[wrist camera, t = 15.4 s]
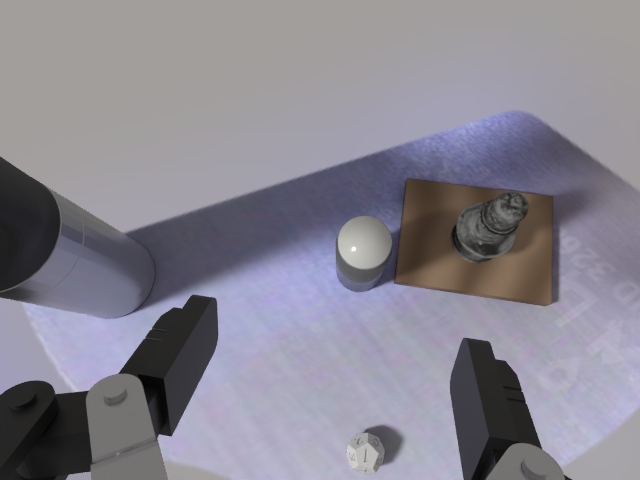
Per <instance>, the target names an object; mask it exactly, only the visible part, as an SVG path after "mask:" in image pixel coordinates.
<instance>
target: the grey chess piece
mask: <svg viewBox="0 0 640 480" xmlns="http://www.w3.org/2000/svg"><path fill="white" fill-rule="evenodd" d="M528 210H529V204H528V201H527V199H526V198H525V197H524V196H523V195H522V194H521V193H519V192H517V191H512V190H509V191H505V192H502V193H500V194H499V195H498V196H497V197H496V198H495V199H492V200H489V201H487V202H481V203H475V204H473V205H470V206H468V207H467V208H466V209H465V210H463V211H462V213H461V214H460V216H459V217H458V221H457V223H456V225H455V226H454V228H453V229H452V233H451V243H452V247H453V249H454V250H455V252H456V253H457V254H458V255H459V256H460V257H461V258H462V259H464V260H465V261H468V262H471V263H484V262H487V261H489V260H491V259H492V258H495V257H499V256H501V255H503V254H505V253H506V252H507V251H508V250H510V249H511V247H512V245H513V244H514V241H515V238H516V229H517V228H518V226H519V223H520V221H521V220H522V219H524V218H525V217H526V215H527V213H528Z"/></svg>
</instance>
